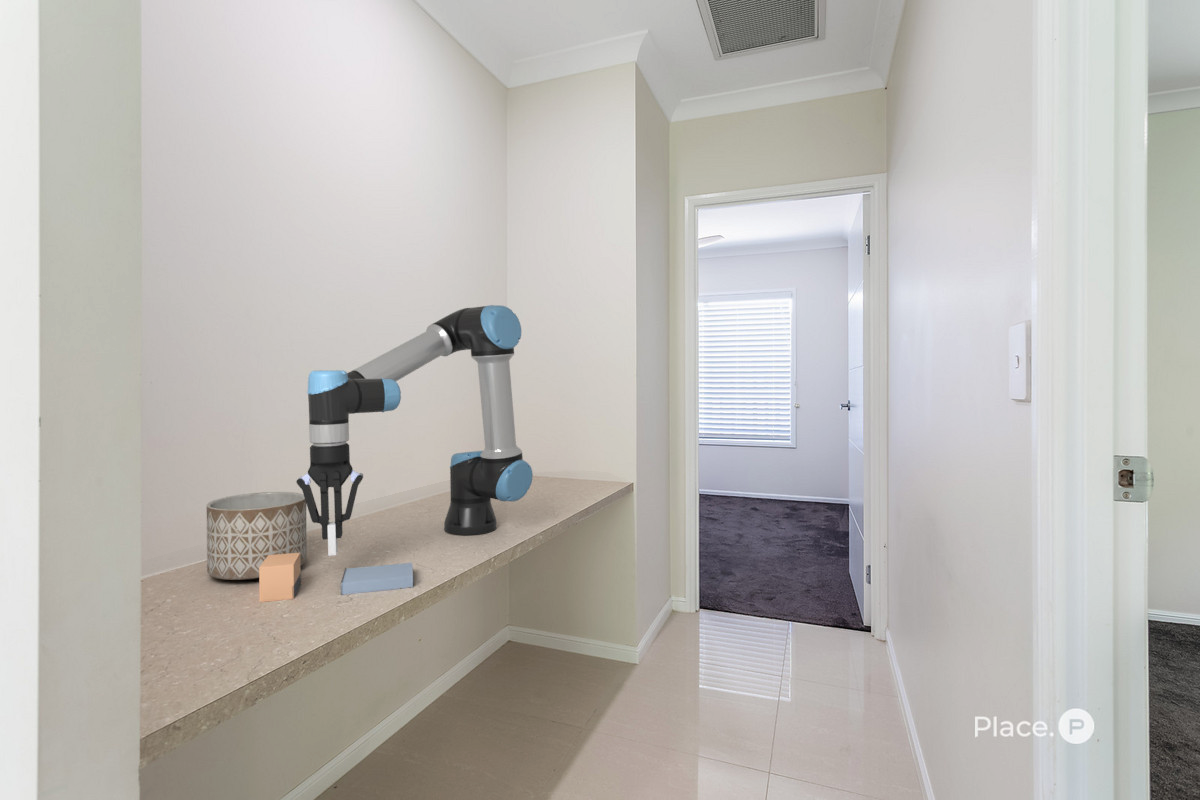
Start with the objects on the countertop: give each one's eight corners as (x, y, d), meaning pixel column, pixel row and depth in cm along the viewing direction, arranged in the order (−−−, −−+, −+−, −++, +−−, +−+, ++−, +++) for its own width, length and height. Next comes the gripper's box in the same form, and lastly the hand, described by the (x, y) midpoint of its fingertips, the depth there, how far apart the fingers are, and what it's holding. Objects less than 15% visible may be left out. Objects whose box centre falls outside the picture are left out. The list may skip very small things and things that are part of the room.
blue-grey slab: (412, 573, 129) (412, 562, 128) (412, 587, 120) (412, 575, 120) (345, 579, 124) (345, 568, 124) (340, 594, 115) (340, 582, 115)
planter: (302, 553, 142) (302, 488, 141) (310, 576, 126) (310, 503, 125) (209, 566, 131) (208, 496, 131) (205, 593, 115) (204, 513, 115)
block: (300, 584, 121) (300, 552, 120) (293, 598, 113) (293, 564, 113) (268, 588, 119) (268, 555, 118) (259, 602, 111) (259, 567, 111)
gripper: (364, 439, 124) (367, 545, 126) (298, 442, 120) (301, 551, 121) (362, 444, 117) (365, 555, 119) (291, 447, 113) (295, 562, 114)
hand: (332, 553), depth 120 cm, fingers closed
